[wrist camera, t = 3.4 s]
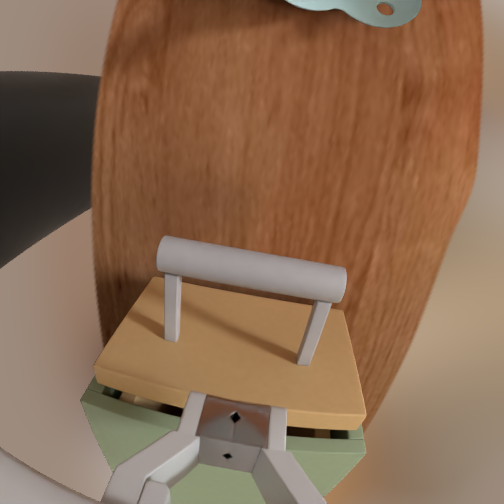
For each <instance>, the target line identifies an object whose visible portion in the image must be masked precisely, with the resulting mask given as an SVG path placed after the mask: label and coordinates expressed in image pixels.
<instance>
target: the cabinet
mask: <svg viewBox="0 0 504 504" xmlns="http://www.w3.org/2000/svg"><path fill="white" fill-rule="evenodd" d="M122 392H123V391H120V390H117V389H114V388H111V387H108V386H105V385H102V384H99V383H98V382H97V379H96V376H94V378H93V379H92V381H91V383H90V384H89V386H88V389H86V391H85V393H84V395H83V396H82V398H81V400H80V401H81V404H82V406H83V409H84V412H85V414H86V416H87V419H88V421H89V424H90V426H91V428H92V430H93V433H94V435H95V437H96V439H97V441H98V444H99V446H100V448H101V450H102V452H103V454H104V456H105V458H106V460H107V462H108V464H109V466H110V468H111V470H112V472H113V471H114V469H115V467H116V466H117V465H119V464H120V463H122V462H124V461H125V460H127V459H128V458H130V457H132V456H133V455H135V454H136V453H138V452H139V451H141V450H143V449H144V448H146V447H147V446H149V445H150V444H152V443H153V442H155V441H156V440H158V439H159V438H161V437H162V436H164V435H165V434H167V433H168V432H170V431H171V430H174V431H177V428H178V425H179V422H180V419H181V417H177V416H173V415H169V414H165V413H161V412H158V411H154V410H151V409H147V408H144V407H140V406H137V405H134V404H130V403H127V402H124V401H121V400H119V398H120V396H121V394H122ZM330 437H331V439H325V438H309V437H297V436H287V435H286V451H290V452H291V453H292V455H293V456H294V458H295V459H296V461H297V462H298V463H299V465H300V466H301V468H302V469H303V471H304V472H305V473H306V475H307V476H308V478H309V479H310V480H311V482H312V483H313V485H314V486H315V487H316V489H317V490H318V491H319V493H320V494H321V496H322V497H325V496H326V495H327V494H328V493H329V492H330V491H331V490H332V489H333V488H334V487H335V486H336V485H337V484H338V483H339V482H340V481H341V480H342V479H343V478H344V477H345V476H346V474H348V473H349V471H350V470H351V469H352V468H353V467H354V466H355V465H356V464H357V463H358V462H359V461H360V460H361V458H362V457H363V456H364V455H365V454H366V449H365V441H364V440H363V439H364V436H363V430H362V424H361V425H360V426H359V427H358V429H357V430H331V429H330ZM170 495H171V501H172V504H266V502H265V500H264V498H263V496H262V495H261V493H260V491H259V489H258V487H257V485H256V483H255V481H254V479H253V477H252V475H251V473H249V472H243V471H238V470H232V469H227V468H222V467H216V466H210V465H205V464H200V463H198V465H197V466H196V467H195V468H194V469H193V470H192V471H191V472H190V473H188V474H187V475H186V476H185V477H184V478H183V479H181V480H180V481H179V482H178V483H177V484H176V485H174V486H173V487H172V488H171V489H170Z"/></svg>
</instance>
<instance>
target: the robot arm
mask: <svg viewBox="0 0 504 504" xmlns="http://www.w3.org/2000/svg"><path fill="white" fill-rule="evenodd" d="M286 427H287V409H286V408H285V407H277V406H270V405H266V404H259V403H252V402H246V401H239V400H238V401H236V400H231V399H227V398H222V397H218V396H214V395H209V394H205V393H201V392H197V391H192V390H191V391H190V393H189V395H188V398H187V401H186V404H185V407H184V410H183V413H182V416H181V419H180V422H179V425H178V428H177V431H174V430H171V431H170V432H168V433H167V434H165V435H164V436H162V437H161V438H159V439H158V440H156V441H155V442H153V443H152V444H150V445H149V446H147V447H146V448H144V449H143V450H141V451H139V452H138V453H136V454H135V455H133V456H132V457H130V458H128V459H127V460H125V461H124V462H122V463H120V464H119V465H117V466H116V467H115V469H114V471H113V474H112V476H111V479H110V481H109V483H108V485H107V488H106V490H105V492H104V495H103V497H102V500H101V502H99V501H96V500H94V499H92V498H90V497H87V496H85V495H83V494H81V493H79V492H76V491H74V490H72V489H70V488H68V487H66V486H64V485H62V484H60V483H58V482H56V481H55V480H53V479H51V478H49V477H47V476H45V475H43V474H42V473H40V472H38V471H37V470H35V469H33V468H31V467H30V466H28V465H26V464H25V463H23V462H22V461H20V460H18V459H17V458H15V457H14V456H12V455H11V454H9V453H8V452H6V451H5V450H3V449H2V448H1V447H0V504H172V501H171V495H170V489H171V488H172V487H173V486H174V485H176V484H177V483H178V482H179V481H180V480H181V479H183V478H184V477H185V476H186V475H187V474H188V473H190V472H191V471H192V470H193V469H194V468H195V467H196V466H197V465H198V463H200V464H205V465H210V466H216V467H222V468H227V469H232V470H238V471H243V472H249V473H251V475H252V477H253V479H254V481H255V483H256V485H257V487H258V489H259V491H260V493H261V495H262V496H263V498H264V500H265V502H266V504H327V502H326V501H325V500H324V499H323V497H322V496H321V494H320V493H319V491H318V490H317V489H316V487H315V486H314V485H313V483H312V482H311V480H310V479H309V478H308V476H307V475H306V473H305V472H304V471H303V469H302V468H301V466H300V465H299V463H298V462H297V461H296V459H295V458H294V456H293V455H292V453H291V452H290V451H286Z"/></svg>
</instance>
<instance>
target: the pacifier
mask: <svg viewBox="0 0 504 504" xmlns="http://www.w3.org/2000/svg"><path fill="white" fill-rule="evenodd" d="M285 1H287V2H288V3H290V4H292V5H294V6H296V7H298V8H301V9H305V10H310V11H327V10H331V9H339V10H342V11H344V12H345V13H346V14H347V15H349V16H350V17H352V18H353V19H355V20H357V21H359V22H361V23H364V24H366V25H370V26H374V27H381V28H390V27H396V26H400V25H403V24H405V23H407V22H409V21H411V20H412V19H413V18H414V17H416V16H417V14H418V12H419V11H420V8H421V5H422V0H285ZM378 4H387V5H389V6H390V7H391V8H392V9H393V14H392V15H383V14H381V13H380V12H378V10H377V5H378Z"/></svg>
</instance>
